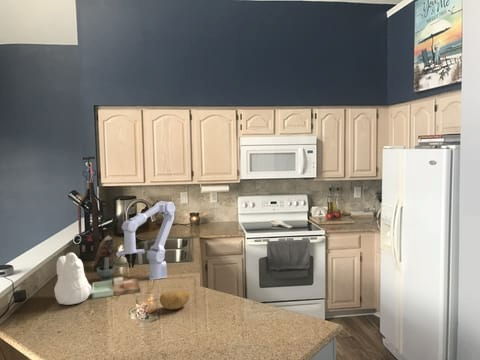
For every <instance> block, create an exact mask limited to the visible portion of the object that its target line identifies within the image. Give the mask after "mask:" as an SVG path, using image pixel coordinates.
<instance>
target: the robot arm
mask: <svg viewBox="0 0 480 360" xmlns="http://www.w3.org/2000/svg"><path fill="white" fill-rule="evenodd" d="M175 212H176V206H175V204H174V202H173V201H163V200H160V201H158V202H156V203H155V204H154V206H152V207H150V208H149V209H147V210H146V211H145V212H139V213H136V215H135V216H134V217H131V218H129V220H125V221H123V223H122V225H121V229H122V230H123V234H124V236H123V238H124V240H123V241H124V250H121V251H116V253H115V254H116V257H120V256H121V257H122V256H124V258H125V259H126V261H127V263H128V267H129V269H131V268H132V269H134V266H135V261H136V259H137V257H138V254H145V248H140V249H139V248H138V249H137V244H136V231H137V230H138V227H141V225H143V224H145V223H146V222H147V221H148V218H151V217H152V216H154V215H156V214H157V213H160V214H161V215H162V217H163V220H162V223H161V226H160V229H159V230H158V233H157V236H156V239H155V241H154V243H153V245H151V246H150V248H149V250H148V251H147V252H146V258H147V260H148V262H149V274H148V279H149V280H150V281H153V280H159V279H167V278H168V275H167V273H168V270H167V269H168V267H167V262H166V260H165V253H166V249H165V244H166V241H167V240H168V237H169V233H170V230H171V228H172V226H173V223H174V220H175Z"/></svg>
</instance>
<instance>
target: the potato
mask: <svg viewBox="0 0 480 360" xmlns="http://www.w3.org/2000/svg"><path fill="white" fill-rule="evenodd" d="M190 297H191V294H190V292H189V291H187V290H186V289H181V290H179V289H178V290H173V291H172V290H171V291H169V292H162V294H161V295H160V296H159V302H160V305H161V306H162V307H163V308H165V309H167V310H170V311H171V310H172V311H174V309H175V310H179V309H180V308H183V306H185V305H186V304H187V303H188V302H189V300H190Z"/></svg>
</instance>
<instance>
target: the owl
mask: <svg viewBox="0 0 480 360" xmlns="http://www.w3.org/2000/svg"><path fill="white" fill-rule="evenodd" d="M114 248H115V247H114V238H113V237H111V236H110V235H109V234H108V235H107V236H105V237H104V238H103V239H102V240H101V242H100V243H99V246H98V248H97V252H96V255H95V258H94V263H93V267H92V268H93V270H97V268H99V267H102V266H104V261H105V260H104V258H105V257H109V266H114V263H115V258H116V256H115V251H114Z"/></svg>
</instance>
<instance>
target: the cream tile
mask: <svg viewBox="0 0 480 360" xmlns="http://www.w3.org/2000/svg"><path fill="white" fill-rule="evenodd" d="M123 280H124V278H123V276H119V277H113V282H114V285H115V284H122V283H123Z"/></svg>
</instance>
